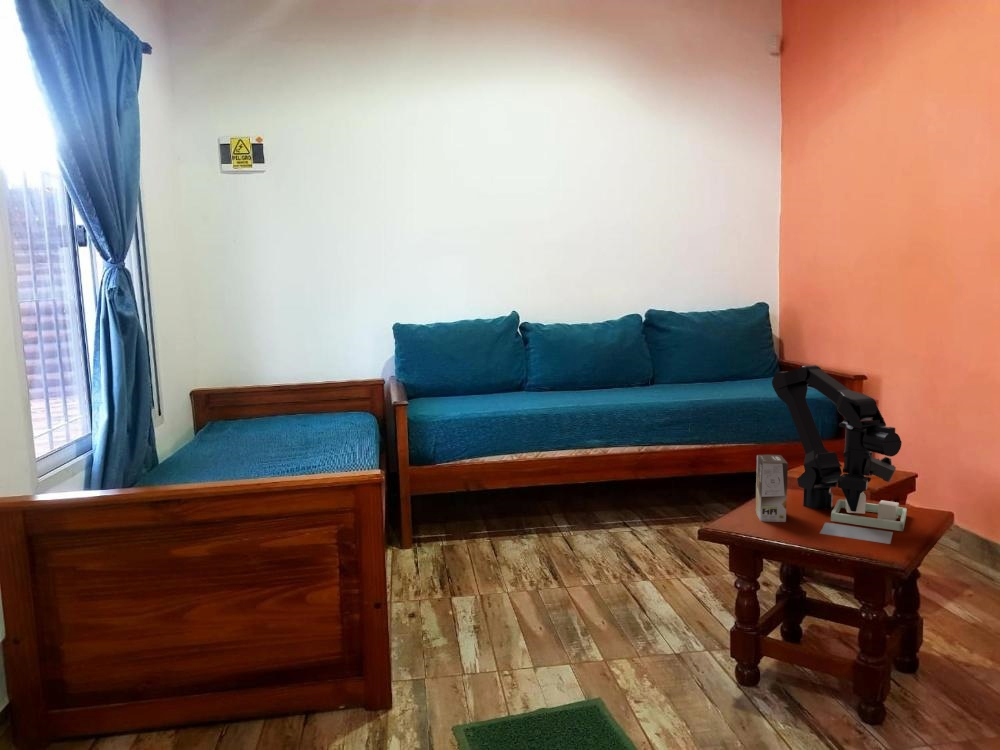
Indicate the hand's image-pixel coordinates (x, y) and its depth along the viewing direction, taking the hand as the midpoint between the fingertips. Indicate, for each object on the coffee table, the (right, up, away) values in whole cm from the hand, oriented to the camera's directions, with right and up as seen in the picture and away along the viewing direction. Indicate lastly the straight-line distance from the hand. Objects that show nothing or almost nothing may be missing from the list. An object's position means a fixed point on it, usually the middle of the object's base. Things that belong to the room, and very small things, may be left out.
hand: (854, 508), depth 189 cm
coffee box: (-19, -4, +5) cm, 20 cm away
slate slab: (-4, -5, -8) cm, 10 cm away
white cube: (0, -1, 0) cm, 1 cm away
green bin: (+4, -4, +2) cm, 6 cm away
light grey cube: (+9, -3, +2) cm, 10 cm away
